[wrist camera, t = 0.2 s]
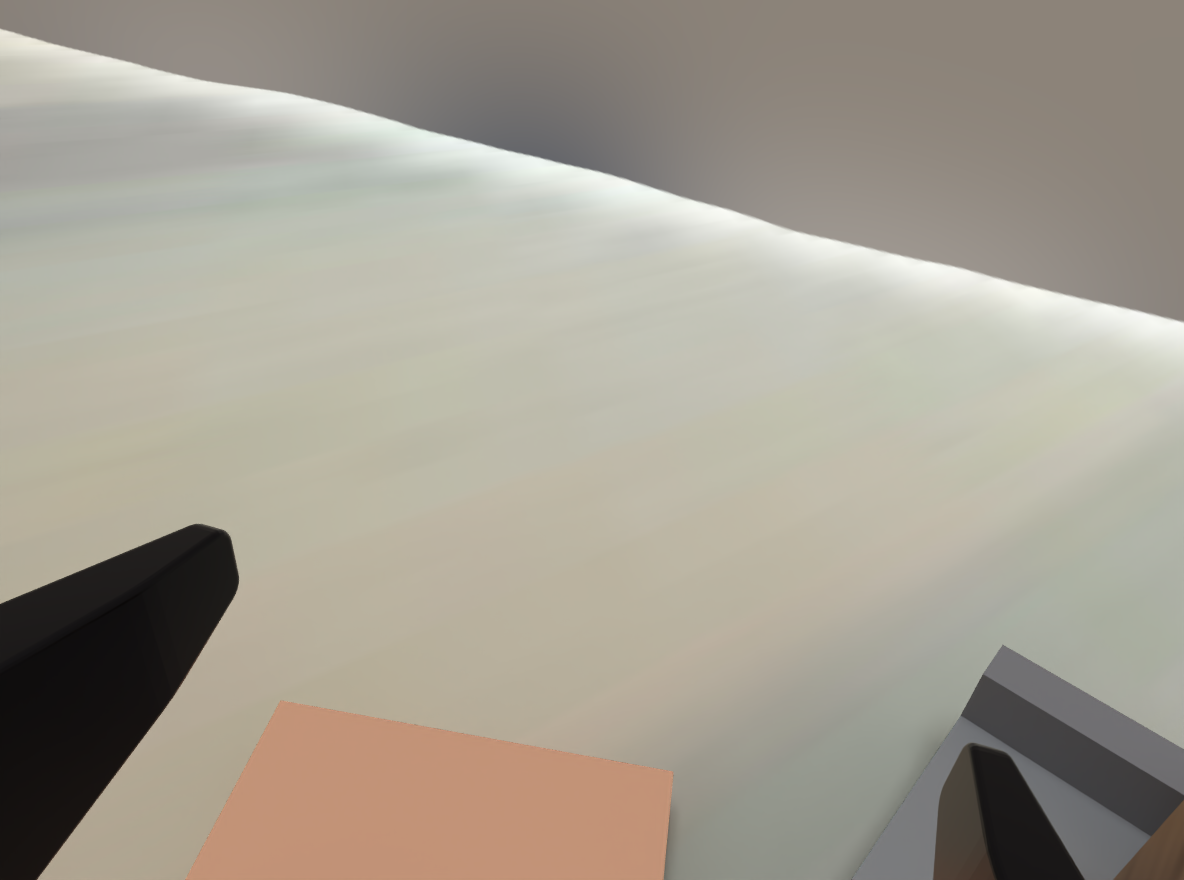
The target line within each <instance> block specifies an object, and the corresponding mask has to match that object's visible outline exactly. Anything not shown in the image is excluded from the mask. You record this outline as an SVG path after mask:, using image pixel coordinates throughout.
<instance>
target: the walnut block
mask: <svg viewBox="0 0 1184 880" xmlns="http://www.w3.org/2000/svg"><path fill="white" fill-rule="evenodd" d="M1113 880H1184V800H1183V801H1182V803H1181V804H1180V805H1179V806H1178V807H1177V808H1176V809H1175V810H1174V812H1173V813H1172V814H1171V815H1170V816H1169V817H1168V818H1167V819H1166V821H1165V822H1164V823H1163V824H1162V825H1161V826H1160V827H1159V828H1158V830H1157V831H1156V832H1155V833H1154V834H1153V835H1152V836H1151V837H1150V839H1149V840H1148V841H1147V842H1146V843H1145V844H1144V845H1143V846H1142V848H1141V849H1140V850H1139V851H1138V852H1137V853H1136V854H1135V855H1134V857H1133V858H1132V859H1131V860H1130V861H1129V862H1128V863H1127V864H1126V866H1125V867H1124V868H1123V869H1122V870H1121V871H1120V872H1119V873H1118V875H1117V876H1116V877H1115V878H1114V879H1113Z"/></svg>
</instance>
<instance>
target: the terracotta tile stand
mask: <svg viewBox="0 0 1184 880" xmlns="http://www.w3.org/2000/svg"><path fill="white" fill-rule="evenodd" d="M672 782H673V772H672V771H667V770H661V769H656V768H650V767H645V766H639V765H634V764H628V763H623V762H617V761H612V760H606V759H601V758H595V757H590V756H584V755H578V754H573V753H567V752H562V751H556V750H551V749H545V748H540V747H534V746H529V745H523V744H518V743H512V742H507V741H501V740H496V739H490V738H485V737H479V736H474V735H468V734H463V733H457V732H452V731H446V730H441V729H435V728H429V727H424V726H418V725H413V724H407V723H402V722H396V721H391V720H385V719H380V718H374V717H369V716H363V715H358V714H352V713H347V712H341V711H336V710H330V709H325V708H319V707H314V706H308V705H303V704H297V703H292V702H286V701H281V700H280V702H279V704H278V706H277V708H276V710H275V712H274V714H273V715H272V717H271V719H270V721H269V723H268V725H267V727H266V729H265V731H264V732H263V734H262V736H261V738H260V740H259V742H258V744H257V746H256V747H255V749H254V751H253V753H252V755H251V757H250V759H249V761H248V763H247V764H246V766H245V768H244V770H243V772H242V774H241V776H240V778H239V779H238V781H237V783H236V785H235V787H234V789H233V791H232V793H231V795H230V796H229V798H228V800H227V802H226V804H225V806H224V808H223V810H222V811H221V813H220V815H219V817H218V819H217V821H216V823H215V825H214V827H213V828H212V830H211V832H210V834H209V836H208V838H207V840H206V842H205V843H204V845H203V847H202V849H201V851H200V853H199V855H198V857H197V859H196V860H195V862H194V864H193V866H192V868H191V870H190V872H189V874H188V875H187V877H186V879H185V880H663V877H664V867H665V856H666V846H667V835H668V825H669V814H670V803H671V793H672Z"/></svg>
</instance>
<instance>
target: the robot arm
mask: <svg viewBox="0 0 1184 880" xmlns="http://www.w3.org/2000/svg"><path fill="white" fill-rule="evenodd" d="M238 584H239V574H238V569H237V565H236V560H235V555H234V550H233V546H232V541H231V538H230V536H229V534H228V533H227V532H226V531H224V530H222V529H218V528H215V527H211V526H207V525H204V524H193V525H190V526H188V527H185V528H183V529H180V530H178V531H176V532H173V533H171V534H168V535H166V536H163V537H161V538H159V539H156V540H154V541H151V542H149V543H146V544H144V545H142V546H139V547H137V548H134V549H132V550H130V551H127V552H125V553H122V554H120V555H117V556H115V557H113V558H110V559H108V560H105V561H103V562H101V563H98V564H96V565H93V566H91V567H88V568H86V569H84V570H81V571H79V572H76V573H74V574H71V575H69V576H67V577H64V578H62V579H59V580H57V581H55V582H52V583H50V584H47V585H45V586H42V587H40V588H38V589H35V590H33V591H30V592H28V593H25V594H23V595H21V596H18V597H16V598H13V599H11V600H9V601H6V602H4V603H1V604H0V880H37V879H38V878H39V876H40V875H41V874H42V872H43V871H44V870H45V868H46V867H47V866H48V864H49V863H50V862H51V860H52V859H53V858H54V856H55V855H56V854H57V852H58V851H59V850H60V848H61V847H62V846H63V844H64V843H65V842H66V840H67V839H68V838H69V836H70V835H71V834H72V832H73V831H74V830H75V828H76V827H77V826H78V824H79V823H80V822H81V820H82V819H83V817H84V816H85V815H86V813H87V812H88V811H89V809H90V808H91V807H92V805H93V804H94V803H95V801H96V800H97V799H98V797H99V796H100V795H101V793H102V792H103V791H104V789H105V788H106V787H107V785H108V784H109V783H110V781H111V780H112V779H113V777H114V776H115V775H116V773H117V772H118V771H119V769H120V768H121V767H122V765H123V764H124V763H125V761H126V760H127V759H128V757H129V756H130V755H131V753H132V752H133V751H134V749H135V748H136V747H137V745H138V744H139V743H140V741H141V740H142V739H143V737H144V736H145V735H146V733H147V732H148V731H149V729H150V728H151V727H152V725H153V724H154V723H155V721H156V720H157V719H158V717H159V716H160V715H161V713H162V712H163V711H164V709H165V708H166V706H167V705H168V703H169V702H170V701H171V699H172V698H173V696H174V695H175V693H176V692H177V690H178V689H179V687H180V686H181V684H182V683H183V681H184V679H185V678H186V676H187V674H188V673H189V671H190V669H191V668H192V666H193V664H194V663H195V661H196V659H197V658H198V656H199V655H200V653H201V651H202V650H203V648H204V646H205V645H206V643H207V641H208V640H209V638H210V636H211V635H212V633H213V631H214V630H215V628H216V626H217V625H218V623H219V621H220V620H221V618H222V616H223V615H224V613H225V611H226V610H227V608H228V606H229V605H230V603H231V601H232V600H233V598H234V596H235V594H236V591H237V588H238ZM933 880H1085V879H1084V877H1083V876H1082V874H1081V872H1080V871H1079V869H1078V867H1077V866H1076V864H1075V862H1074V861H1073V859H1072V857H1071V856H1070V854H1069V852H1068V851H1067V849H1066V847H1065V845H1064V844H1063V842H1062V840H1061V839H1060V837H1059V835H1058V834H1057V832H1056V830H1055V829H1054V827H1053V825H1052V824H1051V822H1050V820H1049V819H1048V817H1047V815H1046V814H1045V812H1044V810H1043V809H1042V807H1041V805H1040V804H1039V802H1038V800H1037V799H1036V797H1035V795H1034V794H1033V792H1032V790H1031V789H1030V787H1029V785H1028V784H1027V782H1026V780H1025V779H1024V777H1023V775H1022V773H1021V772H1020V770H1019V768H1018V767H1017V765H1016V763H1015V762H1014V760H1013V759H1012V757H1011V756H1010V755H1009V754H1008V753H1006V752H1005V751H1002V750H999V749H996V748H992V747H989V746H985V745H981V744H978V743H974V742H970V743H967V744H966V745H965V746H964V747H963V749H962V750H961V752H960V754H959V756H958V758H957V760H956V762H955V764H954V766H953V768H952V769H951V771H950V773H949V775H948V777H947V779H946V781H945V783H944V785H943V787H942V790H941V794H940V798H939V805H938V817H937V831H936V844H935V858H934V872H933Z"/></svg>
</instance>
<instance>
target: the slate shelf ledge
mask: <svg viewBox="0 0 1184 880" xmlns="http://www.w3.org/2000/svg"><path fill="white" fill-rule="evenodd" d="M970 742H974V743H978V744H981V745H985V746H989V747H992V748H996V749H999V750H1002V751H1005V752H1006V753H1008V754H1009V755H1010V756H1011V757H1012V759H1013V760H1014V762H1015V763H1016V765H1017V767H1018V768H1019V770H1020V772H1021V773H1022V775H1023V777H1024V779H1025V780H1026V782H1027V784H1028V785H1029V787H1030V789H1031V790H1032V792H1033V794H1034V795H1035V797H1036V799H1037V800H1038V802H1039V804H1040V805H1041V807H1042V809H1043V810H1044V812H1045V814H1046V815H1047V817H1048V819H1049V820H1050V822H1051V824H1052V825H1053V827H1054V829H1055V830H1056V832H1057V834H1058V835H1059V837H1060V839H1061V840H1062V842H1063V844H1064V845H1065V847H1066V849H1067V851H1068V852H1069V854H1070V856H1071V857H1072V859H1073V861H1074V862H1075V864H1076V866H1077V867H1078V869H1079V871H1080V872H1081V874H1082V876H1083V877H1084V879H1085V880H1113V879H1114V878H1115V877H1116V876H1117V875H1118V873H1119V872H1120V871H1121V870H1122V869H1123V868H1124V867H1125V866H1126V864H1127V863H1128V862H1129V861H1130V860H1131V859H1132V858H1133V857H1134V855H1135V854H1136V853H1137V852H1138V851H1139V850H1140V849H1141V848H1142V846H1143V845H1144V844H1145V843H1146V842H1147V841H1148V840H1149V839H1150V837H1151V836H1152V835H1153V834H1154V833H1155V832H1156V831H1157V830H1158V828H1159V827H1160V826H1161V825H1162V824H1163V823H1164V822H1165V821H1166V819H1167V818H1168V817H1169V816H1170V815H1171V814H1172V813H1173V812H1174V810H1175V809H1176V808H1177V807H1178V806H1179V805H1180V804H1181V803H1182V801H1183V800H1184V749H1182V748H1181V747H1179V746H1177V745H1175V744H1174V743H1172V742H1170V741H1168V740H1167V739H1165V738H1163V737H1162V736H1160V735H1158V734H1156V733H1155V732H1153V731H1151V730H1149V729H1148V728H1146V727H1144V726H1143V725H1141V724H1139V723H1137V722H1136V721H1134V720H1132V719H1130V718H1129V717H1127V716H1125V715H1123V714H1122V713H1120V712H1118V711H1117V710H1115V709H1113V708H1111V707H1110V706H1108V705H1106V704H1104V703H1103V702H1101V701H1099V700H1098V699H1096V698H1094V697H1092V696H1091V695H1089V694H1087V693H1085V692H1084V691H1082V690H1080V689H1079V688H1077V687H1075V686H1073V685H1072V684H1070V683H1068V682H1066V681H1065V680H1063V679H1061V678H1059V677H1058V676H1056V675H1054V674H1053V673H1051V672H1049V671H1047V670H1046V669H1044V668H1042V667H1040V666H1039V665H1037V664H1035V663H1034V662H1032V661H1030V660H1028V659H1027V658H1025V657H1023V656H1021V655H1020V654H1018V653H1016V652H1015V651H1013V650H1011V649H1009V648H1008V647H1006V646H1004V645H1002V647H1001V648H1000V650H999V651H998V653H997V654H996V656H995V657H994V659H993V660H992V662H991V663H990V665H989V666H988V668H987V669H986V671H985V672H984V674H983V675H982V677H981V679H980V681H979V683H978V685H977V686H976V688H975V690H974V692H973V694H972V696H971V698H970V699H969V701H968V703H967V705H966V707H965V709H964V711H963V712H962V714H961V716H960V717H959V719H958V720H957V722H956V723H955V725H954V726H953V728H952V729H951V731H950V732H949V734H948V735H947V737H946V738H945V740H944V741H943V743H942V744H941V746H940V747H939V749H938V750H937V752H936V753H935V755H934V756H933V758H932V759H931V761H930V762H929V764H928V765H927V767H926V768H925V770H924V771H923V773H922V774H921V776H920V777H919V779H918V780H917V782H916V783H915V785H914V786H913V788H912V789H911V791H910V792H909V794H908V795H907V797H906V798H905V800H904V801H903V803H902V804H901V806H900V807H899V809H898V810H897V812H896V813H895V815H894V816H893V818H892V819H891V821H890V822H889V824H888V825H887V827H886V828H885V830H884V831H883V833H882V834H881V836H880V837H879V839H878V840H877V842H876V843H875V845H874V846H873V848H872V849H871V851H870V852H869V854H868V855H867V857H866V858H865V860H864V861H863V863H862V864H861V866H860V867H859V869H858V870H857V872H856V873H855V875H854V876H853V878H852V879H851V880H933V872H934V858H935V844H936V831H937V817H938V805H939V798H940V794H941V790H942V787H943V785H944V783H945V781H946V779H947V777H948V775H949V773H950V771H951V769H952V768H953V766H954V764H955V762H956V760H957V758H958V756H959V754H960V752H961V750H962V749H963V747H964V746H965V745H966V744H967V743H970Z"/></svg>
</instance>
